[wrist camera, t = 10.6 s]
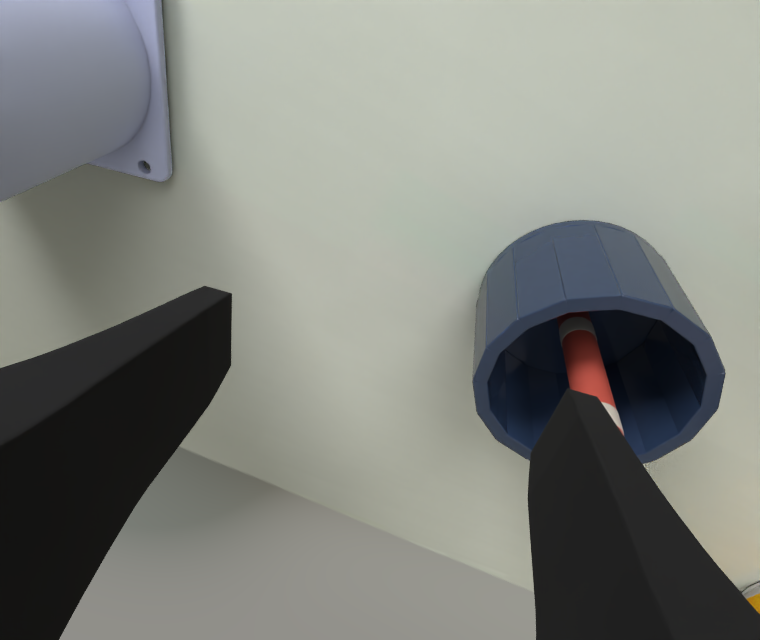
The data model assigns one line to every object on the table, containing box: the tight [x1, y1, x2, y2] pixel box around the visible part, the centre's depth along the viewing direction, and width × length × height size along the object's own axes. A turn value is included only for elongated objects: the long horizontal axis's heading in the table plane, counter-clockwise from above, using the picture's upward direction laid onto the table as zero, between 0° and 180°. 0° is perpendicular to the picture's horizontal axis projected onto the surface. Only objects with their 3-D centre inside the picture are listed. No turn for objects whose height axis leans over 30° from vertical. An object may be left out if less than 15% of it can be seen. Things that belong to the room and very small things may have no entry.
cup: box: [472, 220, 726, 464], centre depth 18 cm, size 7×7×6 cm
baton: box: [557, 311, 624, 436], centre depth 17 cm, size 1×1×8 cm
